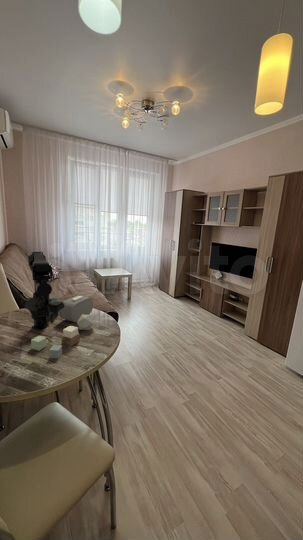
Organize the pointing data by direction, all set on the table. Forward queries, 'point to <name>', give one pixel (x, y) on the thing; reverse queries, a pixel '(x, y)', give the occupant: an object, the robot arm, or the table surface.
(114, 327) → the table surface
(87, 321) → the die
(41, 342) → the sage cube
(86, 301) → the alarm clock
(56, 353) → the slate cube
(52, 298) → the cup
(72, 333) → the tower top
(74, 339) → the tower base
